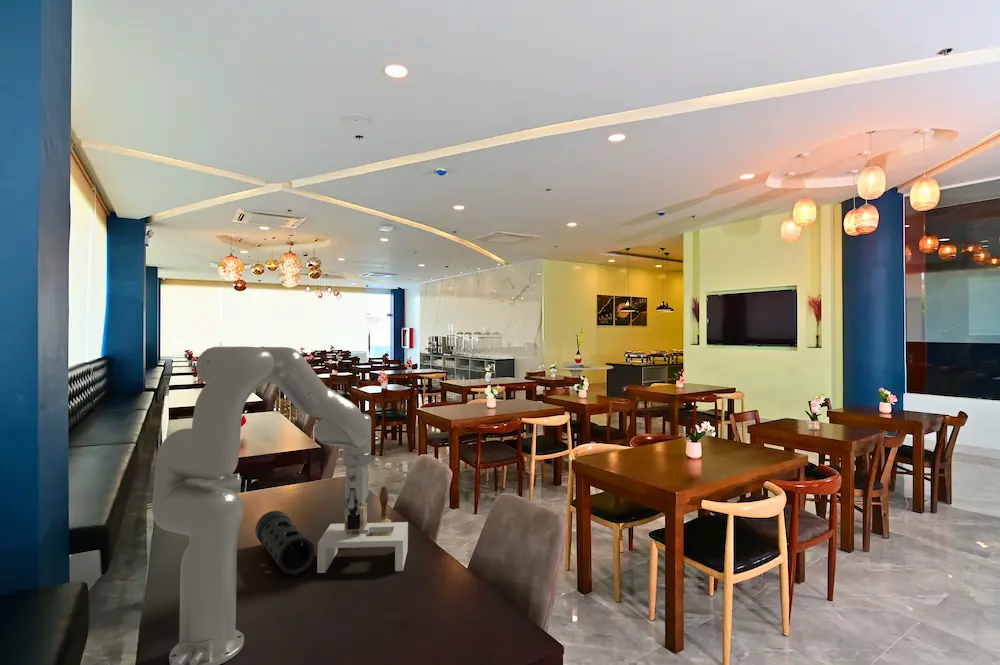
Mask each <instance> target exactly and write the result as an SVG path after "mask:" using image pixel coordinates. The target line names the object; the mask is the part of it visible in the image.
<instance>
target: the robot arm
mask: <svg viewBox="0 0 1000 665" xmlns="http://www.w3.org/2000/svg"><path fill="white" fill-rule="evenodd" d="M195 370H196V373H197V376H198V378H199V379H200V380H201V381H203V383H205V385H204V387H202V389H201V390H200V393H199V394H198V397H197V398H196V401H195V405H194V410H193V417H192V423H191V428H190V427H189V428H188V427H187V428H181V429H178V430H175V431H174V432H172V433H170V434H169V435H168V436H167V437H166V438H165V439H164V440H163V442H162V443H161V444H160V447H159V448H158V450H157V455H156V459H155V466H154V475H153V476H154V478H153V490H152V506H151V508H152V510H151V512H152V517H153V520H154V522H155V524H156V525H157V526H158V527H159V528H160V529H162V530H164V531H168V532H171V533H175V534H180V535H184V536H187V537H189V540H188V544H187V546H186V548H185V551H184V553H183V555H182V557H181V560H180V561H181V562H180V575H179V576H180V580H179V582H180V583H179V586H180V587H179V588H180V589H179V592H180V593H179V631H178V632H179V633H178V636H179V639H178V640H179V641H178V643H177V644H176V645H174V647H173V648H172V649H171V651H170V652H169V655H168V662H169V665H221V664H224V663H227V662H228V661H229V660H231V659H232V658H234V657H235V656H236V655H237V654H239V652H240V651H241V650H242V649H243V647H244V645H245V635H244V633H242V632H241V631H240V630H238V629H236V628H237V627H236V626H237V624H236V620H237V617H236V616H237V573H238V572H237V570H238V569H237V568H238V566H237V560H238V559H237V558H238V541H239V535H240V531H241V526H242V523H243V522H242V521H243V517H244V505H243V504H244V503H243V501H242V499H241V498H240V496H239V495H238V494H237V493H236V492H235V491H233V490H231V489H228V488H225V487H220V486H214V485H208V484H201V481H202V480H203V481H221V480H225V479H227V478H228V477H230V476H232V474H233V473H234V472H235V471H236V469H237V466H238V463H239V456H240V443H241V427H242V418H243V411H244V408H245V404H246V403H247V401H248V399H249V398H250V396H252V394H253V393H254V391H256V390H257V389H258V388H259V387H260V386H261V385H263V384H273V385H275V387H277V388H278V390H280V392H282V393H283V394H284V395H285V398H287V399H288V400H289V402H290V403H291V404H292V405H293V407H295V409H297V410H298V411H300V412H301V413H303V414H306V415H307V416H311V417H313V418H317V419H319V420H320V421H319V422H318V423H317V425H316V427H315V430H314V432H315V433H314V434H315V437H316V439H317V440H318V442H320V443H321V444H323V445H327V446H335V447H342V467H345V481H344V482H345V484H344V485H345V486H344V498H345V500H344V501H345V503H346V505H348V526H347V528H348V530H354V529H359V528H360V514H359V505H360V503H361V504H363V503H366V501H367V498H368V496H369V494H370V477H369V466H370V465H371V463H372V461H371V460H372V457H371V456H372V417H371V416H370V415H369V414H368V413H363V412H362V411H361V410H360V409H359V407H358V406H356V405H355V403H353V402H352V401H351V400H349V399H348V398H345V397H344V396H343V395H341V394H340V393H338V392H337V391H335V390H333V389H331V388H329V387H328V386H327V385H326V384H324V382H323V381H322V379H321V378H320V377H319V376H318V374H317V373H316V371H315V370H314V369H313V368H312V366H311V365H310V364H309V362H308V361H307V360H306V358H305V357H304V356H303V355H302V353H300V352H299V351H298V350H297V349H295V348H291V347H284V346H213V347H209V348H207V349H205V350H204V351H203V352H201V353H200V354H199V356H198V358H197V360H196V365H195ZM348 503H349V504H348ZM355 505H357V508H356V507H354V506H355Z"/></svg>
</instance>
